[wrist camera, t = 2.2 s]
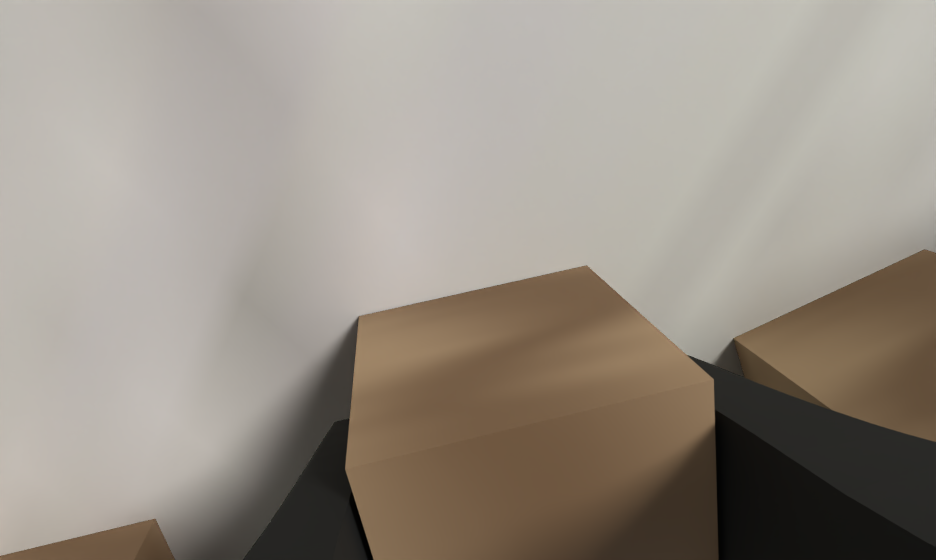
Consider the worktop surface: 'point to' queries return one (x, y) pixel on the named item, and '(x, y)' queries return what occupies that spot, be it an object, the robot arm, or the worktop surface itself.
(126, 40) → the worktop surface
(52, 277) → the worktop surface
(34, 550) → the block
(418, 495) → the block
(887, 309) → the block
